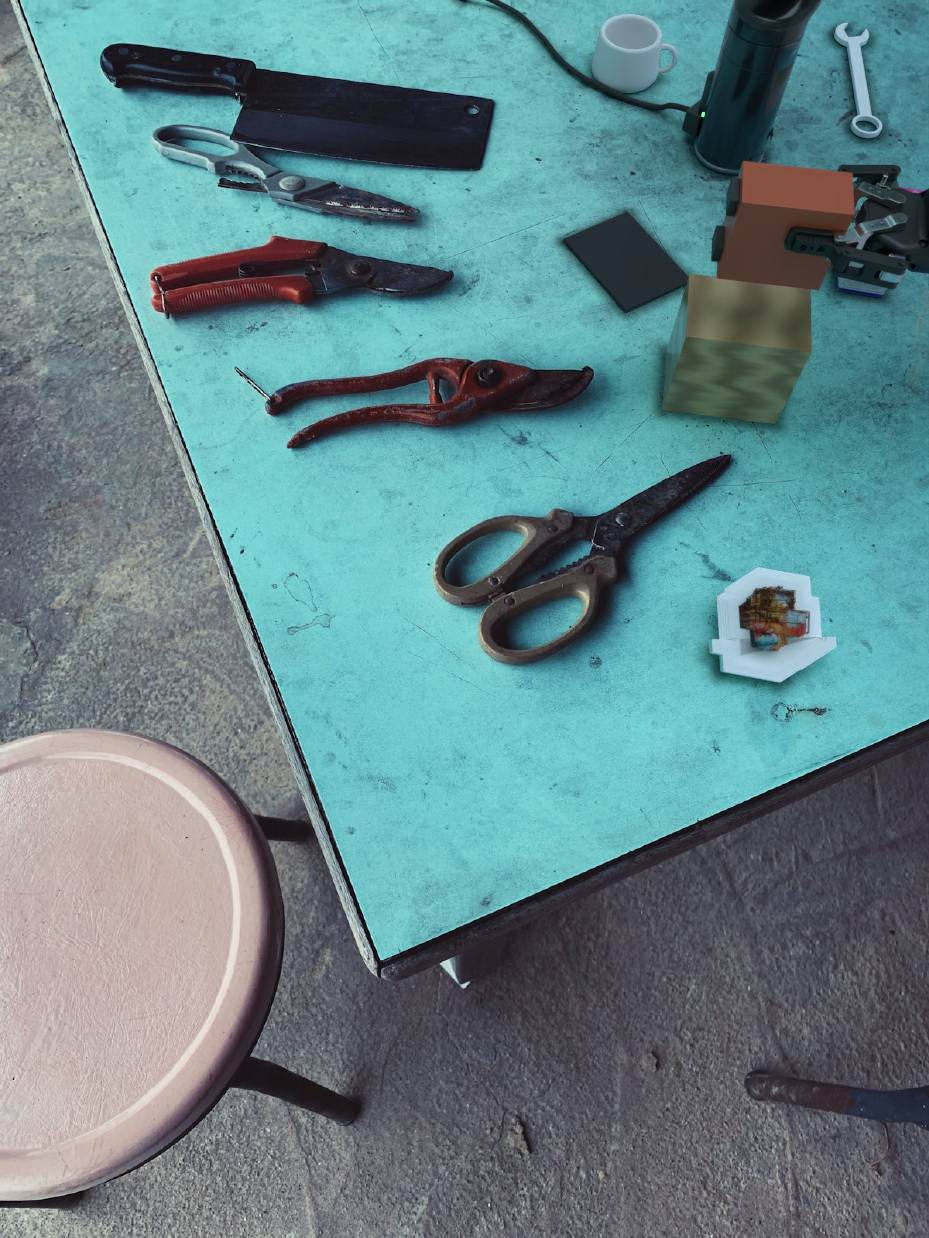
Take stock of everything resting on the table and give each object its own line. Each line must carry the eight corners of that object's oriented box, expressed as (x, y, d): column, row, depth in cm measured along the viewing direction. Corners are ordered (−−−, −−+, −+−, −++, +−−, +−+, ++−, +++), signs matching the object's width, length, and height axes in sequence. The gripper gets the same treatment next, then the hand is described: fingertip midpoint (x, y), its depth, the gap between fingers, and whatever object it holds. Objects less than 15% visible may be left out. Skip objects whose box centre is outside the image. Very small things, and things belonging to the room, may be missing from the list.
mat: (562, 241, 118) (563, 238, 118) (626, 214, 121) (627, 211, 120) (625, 313, 113) (626, 310, 113) (691, 283, 116) (691, 280, 115)
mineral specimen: (818, 570, 95) (842, 557, 88) (826, 683, 94) (850, 678, 87) (700, 573, 96) (714, 560, 89) (706, 685, 95) (720, 681, 88)
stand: (775, 364, 110) (810, 287, 99) (775, 424, 106) (812, 351, 95) (666, 351, 111) (689, 273, 100) (662, 410, 107) (685, 336, 96)
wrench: (865, 28, 139) (832, 26, 139) (867, 24, 138) (834, 21, 138) (884, 139, 128) (849, 137, 128) (886, 135, 127) (851, 132, 127)
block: (817, 248, 93) (852, 171, 85) (818, 290, 90) (854, 214, 82) (710, 236, 93) (734, 158, 85) (708, 277, 91) (733, 201, 83)
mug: (586, 91, 132) (592, 49, 126) (594, 49, 136) (600, 7, 130) (670, 102, 131) (679, 60, 125) (676, 60, 135) (685, 18, 130)
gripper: (983, 146, 85) (799, 126, 86) (999, 258, 79) (801, 236, 80) (944, 213, 92) (774, 194, 93) (956, 322, 86) (774, 300, 87)
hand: (787, 213), depth 86 cm, fingers closed on block, 5 cm apart
